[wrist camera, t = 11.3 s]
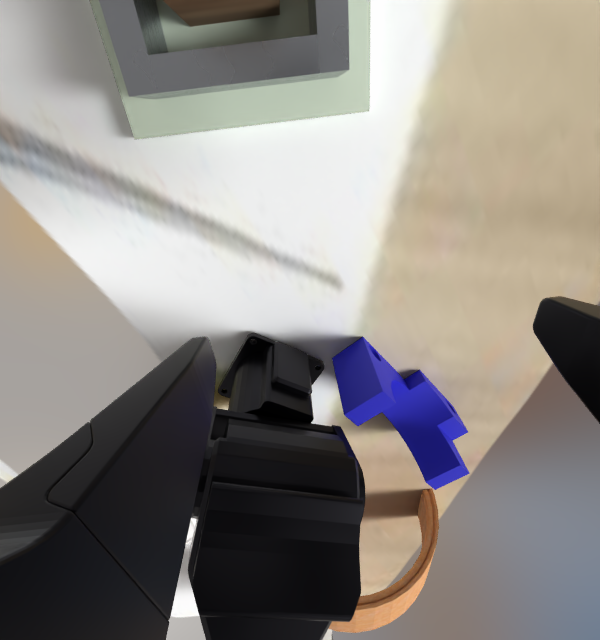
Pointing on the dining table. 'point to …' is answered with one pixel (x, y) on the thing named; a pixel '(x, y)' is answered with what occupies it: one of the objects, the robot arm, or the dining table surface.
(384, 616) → the arch
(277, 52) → the steel collar
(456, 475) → the cable clip
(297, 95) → the base plate
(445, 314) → the dining table surface
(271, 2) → the walnut post
